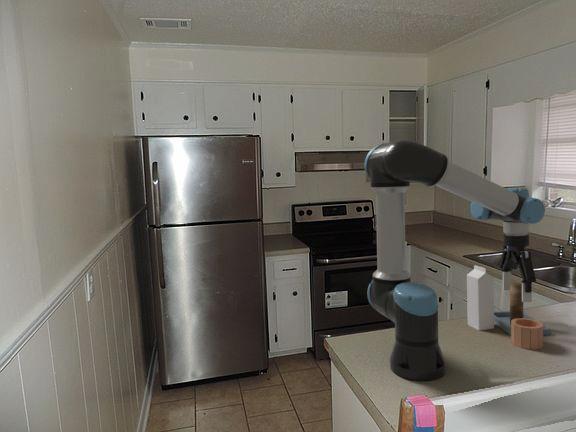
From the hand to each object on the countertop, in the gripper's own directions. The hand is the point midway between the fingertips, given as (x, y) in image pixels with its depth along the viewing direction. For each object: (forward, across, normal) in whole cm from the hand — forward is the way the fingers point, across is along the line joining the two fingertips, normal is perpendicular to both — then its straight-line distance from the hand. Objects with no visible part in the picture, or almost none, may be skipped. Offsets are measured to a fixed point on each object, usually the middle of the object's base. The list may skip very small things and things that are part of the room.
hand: (516, 295), depth 138 cm
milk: (+12, 0, +12) cm, 17 cm away
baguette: (+10, 0, 0) cm, 10 cm away
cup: (+11, -15, +4) cm, 19 cm away
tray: (+11, 0, 0) cm, 11 cm away
